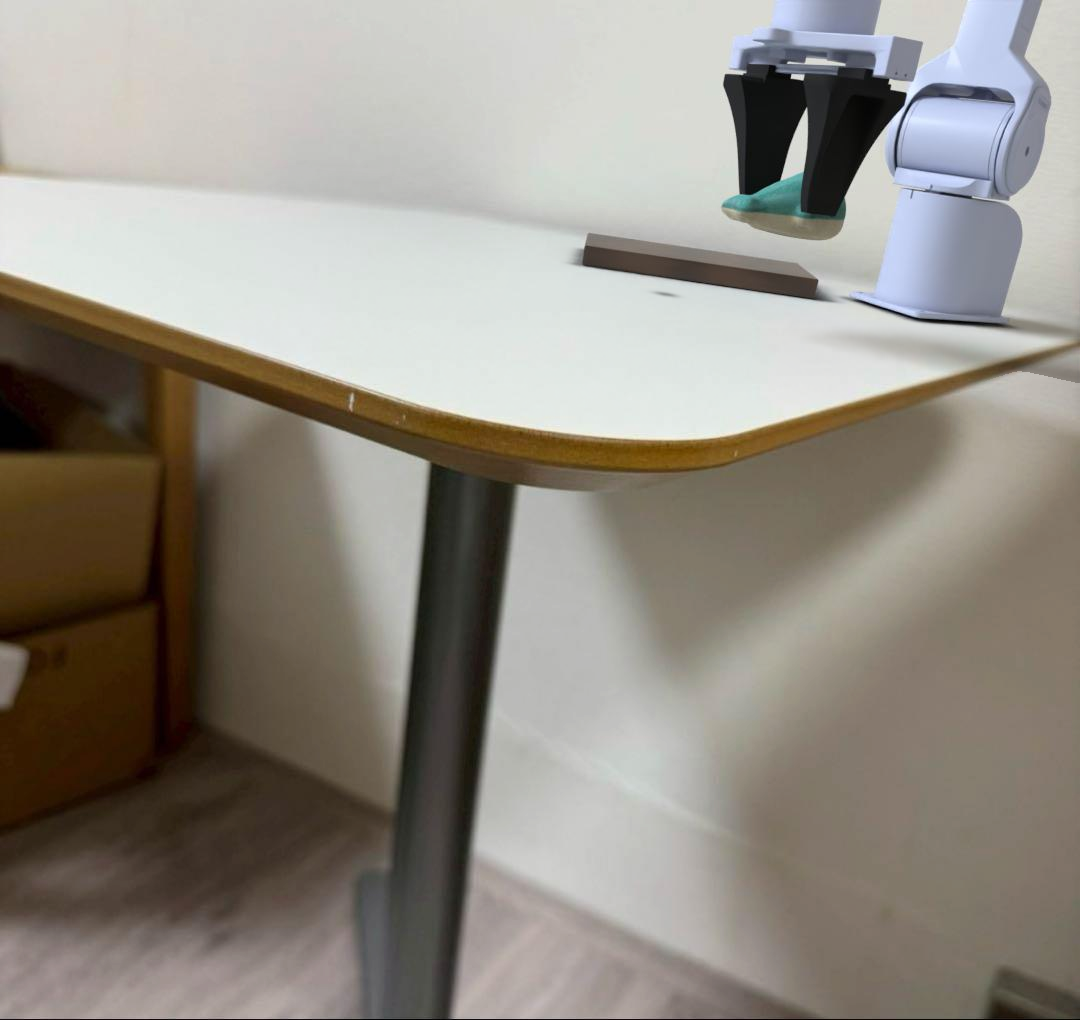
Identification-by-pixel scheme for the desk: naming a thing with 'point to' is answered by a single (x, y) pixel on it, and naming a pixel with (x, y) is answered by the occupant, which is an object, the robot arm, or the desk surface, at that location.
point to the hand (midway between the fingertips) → (785, 206)
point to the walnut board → (698, 265)
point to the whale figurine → (783, 212)
